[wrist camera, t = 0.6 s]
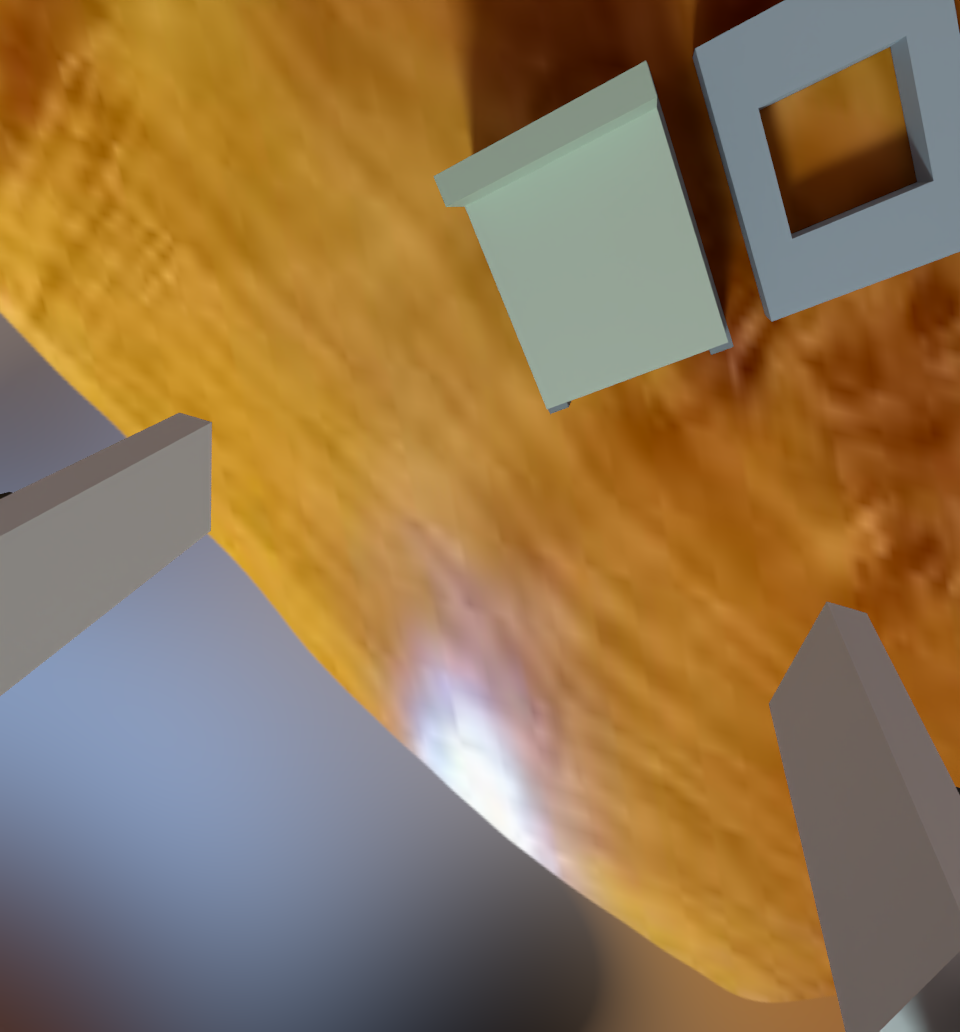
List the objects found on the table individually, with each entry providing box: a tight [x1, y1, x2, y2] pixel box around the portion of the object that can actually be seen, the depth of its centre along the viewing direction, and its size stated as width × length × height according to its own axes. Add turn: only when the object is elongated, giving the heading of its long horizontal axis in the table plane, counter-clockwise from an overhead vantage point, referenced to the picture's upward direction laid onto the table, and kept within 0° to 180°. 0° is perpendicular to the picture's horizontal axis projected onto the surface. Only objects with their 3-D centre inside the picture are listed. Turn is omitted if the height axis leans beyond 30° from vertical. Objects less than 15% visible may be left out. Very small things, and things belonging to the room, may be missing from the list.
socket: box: [693, 0, 960, 321], centre depth 29 cm, size 12×9×2 cm
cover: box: [434, 61, 728, 409], centre depth 28 cm, size 11×9×4 cm
